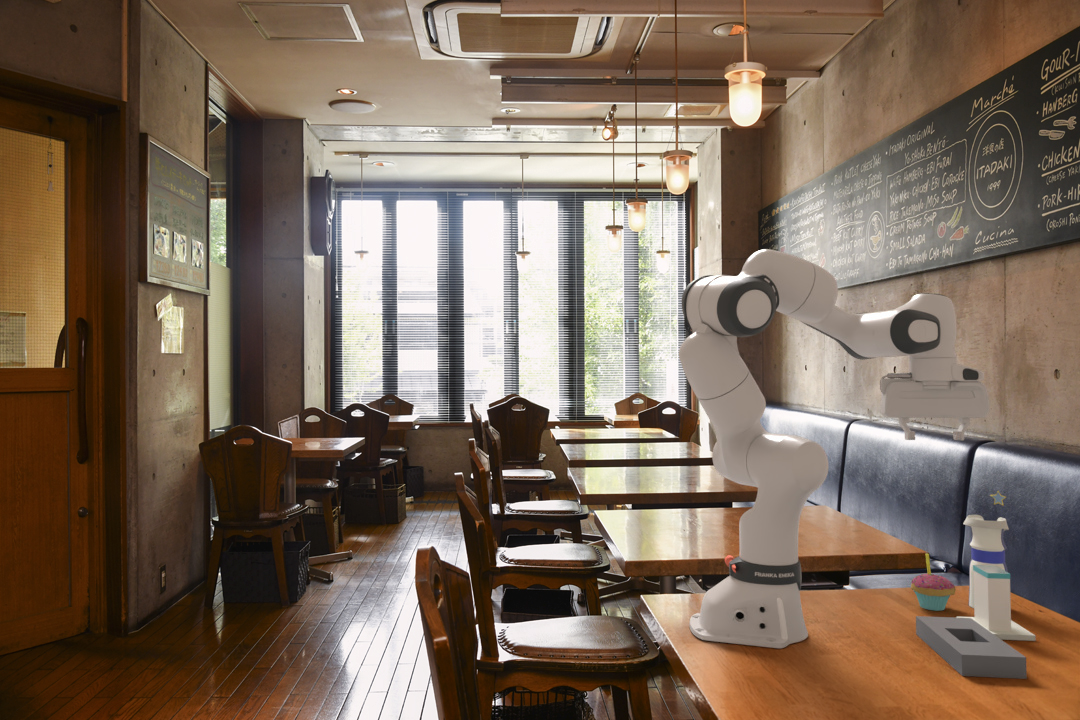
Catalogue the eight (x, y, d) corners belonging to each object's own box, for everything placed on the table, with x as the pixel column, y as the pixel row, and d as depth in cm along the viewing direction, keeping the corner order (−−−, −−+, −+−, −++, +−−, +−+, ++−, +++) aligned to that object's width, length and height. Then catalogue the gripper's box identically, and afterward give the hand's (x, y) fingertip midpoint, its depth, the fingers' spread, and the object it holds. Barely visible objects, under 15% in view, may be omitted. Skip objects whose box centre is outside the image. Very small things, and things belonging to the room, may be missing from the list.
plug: (988, 630, 140) (987, 573, 140) (974, 620, 146) (973, 565, 146) (1011, 631, 139) (1010, 573, 140) (996, 620, 146) (994, 565, 146)
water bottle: (968, 598, 164) (966, 487, 164) (1013, 606, 158) (1011, 491, 159) (961, 607, 157) (959, 492, 158) (1008, 615, 152) (1006, 495, 153)
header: (962, 675, 121) (961, 654, 121) (916, 634, 141) (915, 616, 141) (1026, 678, 120) (1026, 657, 120) (971, 636, 140) (970, 618, 140)
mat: (979, 638, 138) (979, 633, 138) (956, 621, 148) (956, 616, 148) (1035, 640, 137) (1035, 635, 137) (1008, 623, 147) (1008, 618, 147)
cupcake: (902, 602, 161) (901, 548, 162) (938, 601, 162) (937, 547, 162) (927, 614, 153) (926, 557, 153) (964, 613, 154) (963, 556, 154)
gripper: (885, 372, 148) (886, 440, 147) (992, 372, 145) (994, 441, 144) (874, 373, 154) (876, 438, 153) (977, 372, 151) (979, 439, 151)
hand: (934, 440), depth 149 cm, fingers open, 8 cm apart
